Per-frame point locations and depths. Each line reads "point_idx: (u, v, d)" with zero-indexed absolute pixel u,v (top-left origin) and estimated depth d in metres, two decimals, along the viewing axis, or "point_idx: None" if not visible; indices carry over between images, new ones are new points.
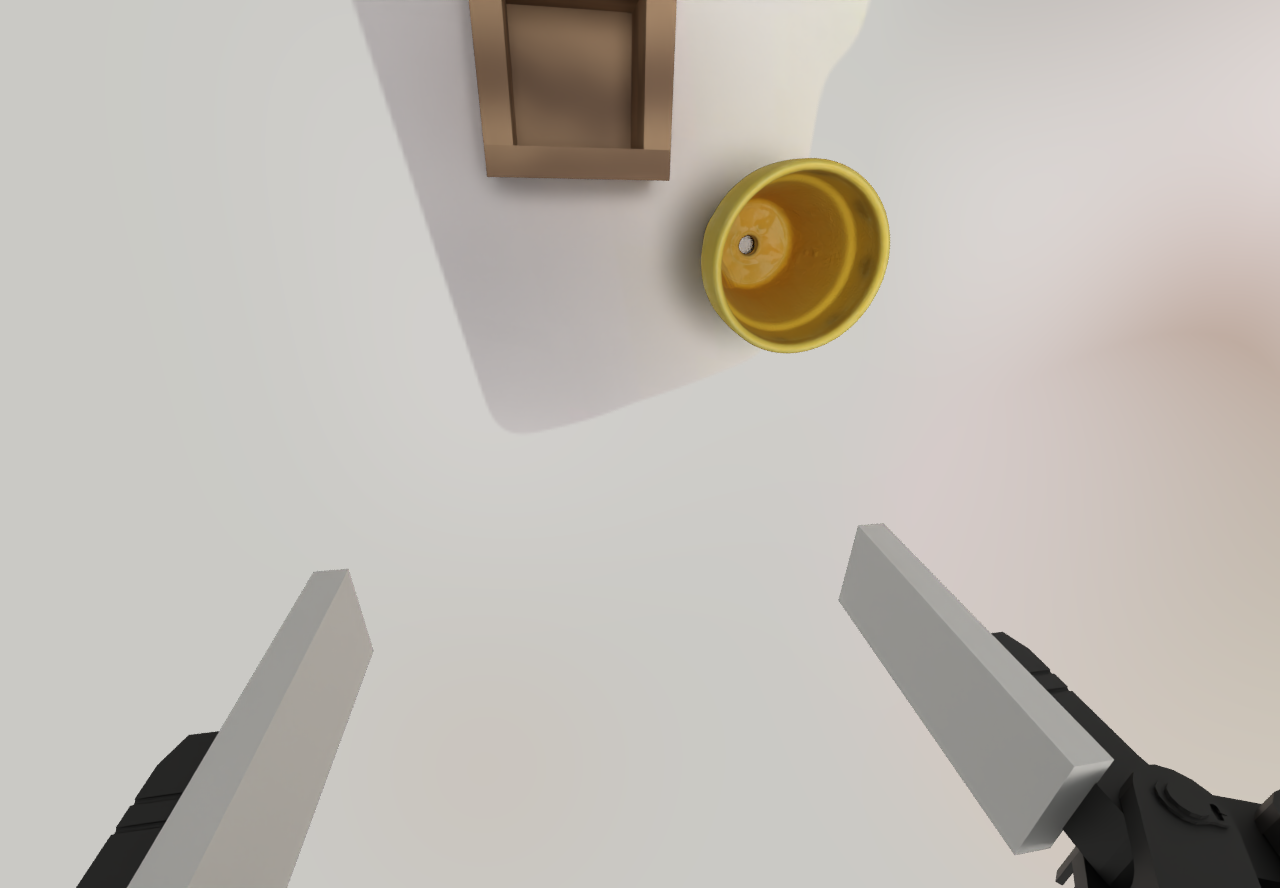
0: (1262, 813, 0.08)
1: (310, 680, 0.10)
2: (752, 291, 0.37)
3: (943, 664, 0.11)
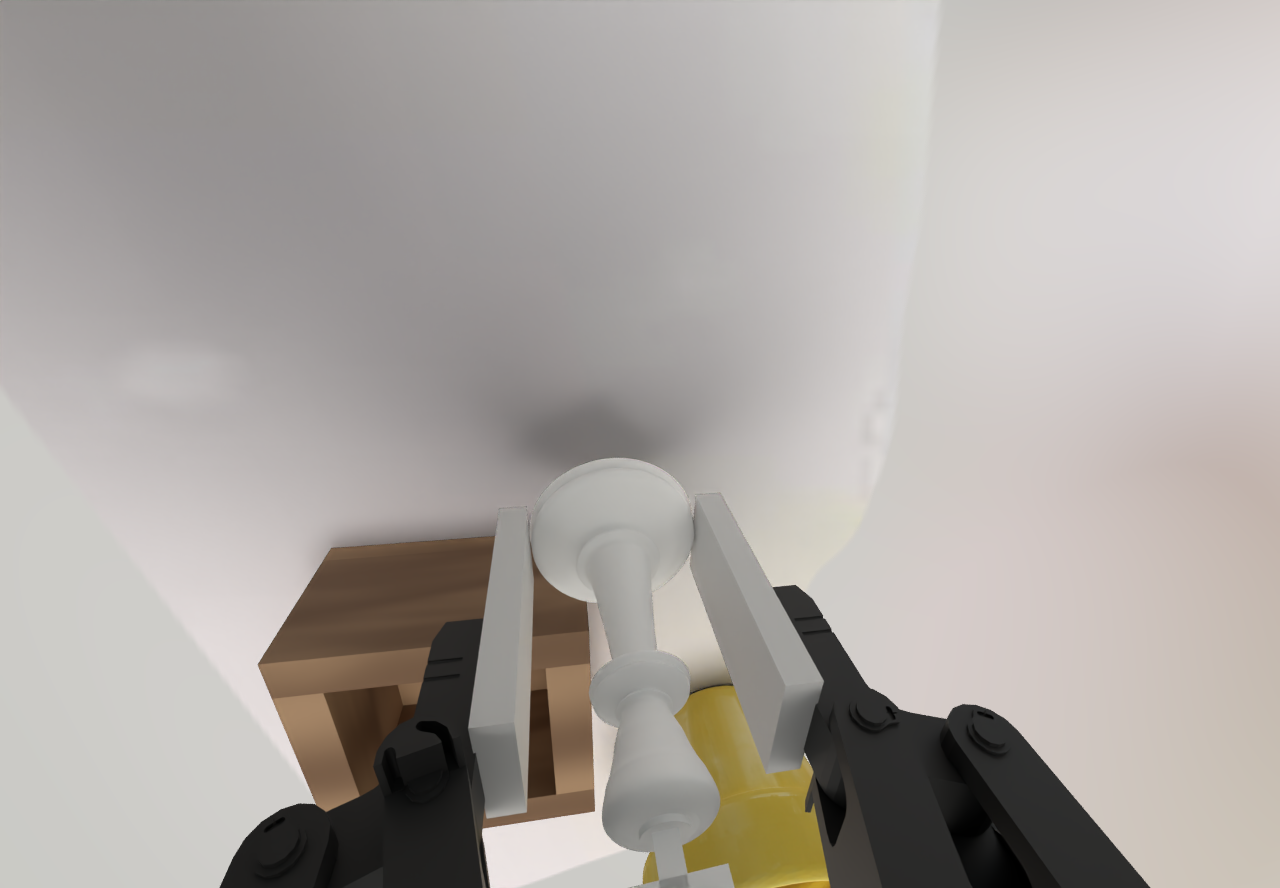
0: (943, 737, 0.09)
1: (524, 586, 0.12)
2: None
3: (733, 612, 0.12)
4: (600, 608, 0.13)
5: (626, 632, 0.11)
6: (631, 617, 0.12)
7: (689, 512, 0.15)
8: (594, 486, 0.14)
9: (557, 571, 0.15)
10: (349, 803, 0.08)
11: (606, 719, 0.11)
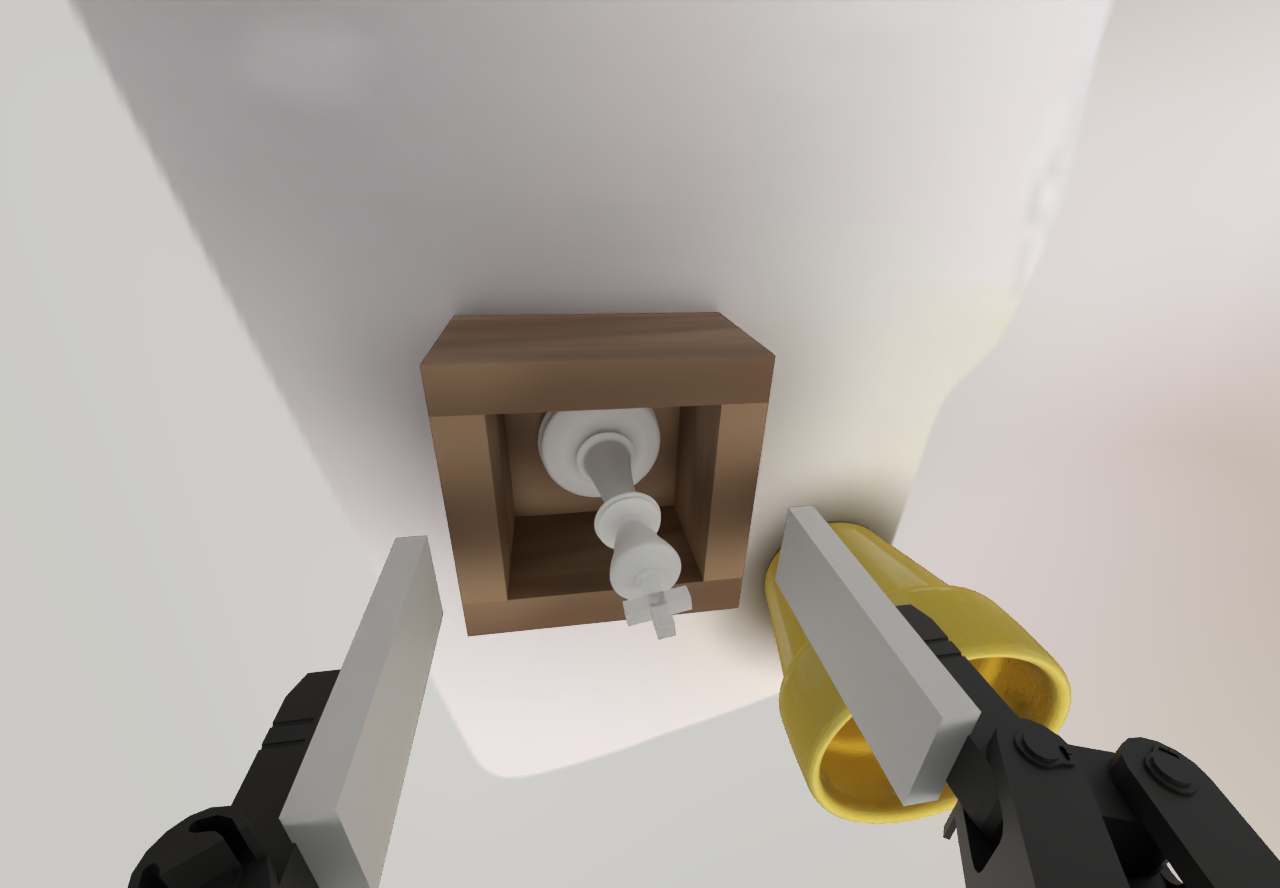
0: (1114, 764, 0.09)
1: (407, 629, 0.11)
2: None
3: (851, 633, 0.12)
4: (596, 482, 0.18)
5: (617, 489, 0.17)
6: (619, 482, 0.17)
7: (656, 423, 0.20)
8: None
9: (560, 468, 0.20)
10: None
11: (605, 542, 0.16)
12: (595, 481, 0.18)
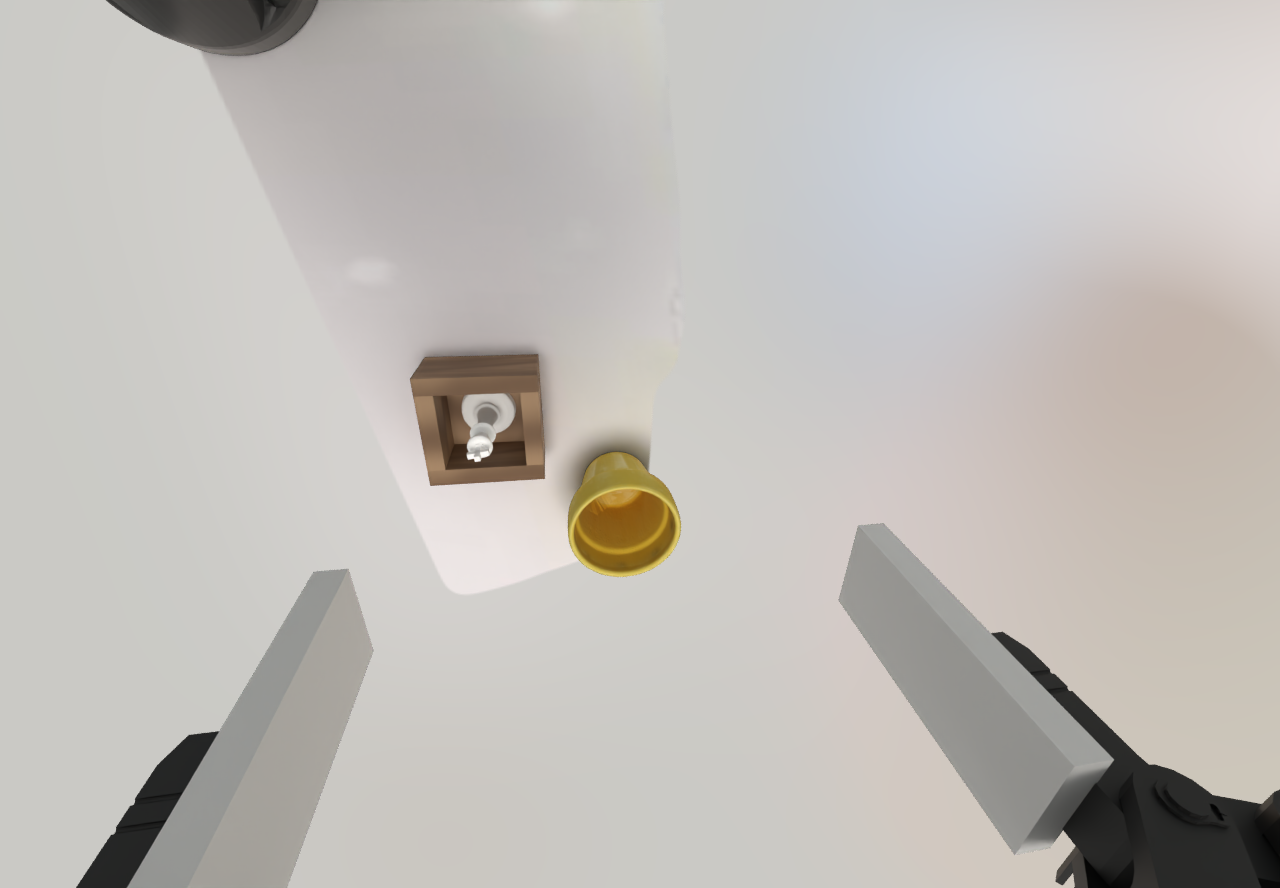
0: (1262, 812, 0.08)
1: (310, 680, 0.10)
2: (618, 510, 0.55)
3: (943, 664, 0.11)
4: (477, 422, 0.45)
5: None
6: (483, 421, 0.45)
7: (511, 401, 0.48)
8: None
9: (470, 419, 0.48)
10: None
11: None
12: (477, 422, 0.46)
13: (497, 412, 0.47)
